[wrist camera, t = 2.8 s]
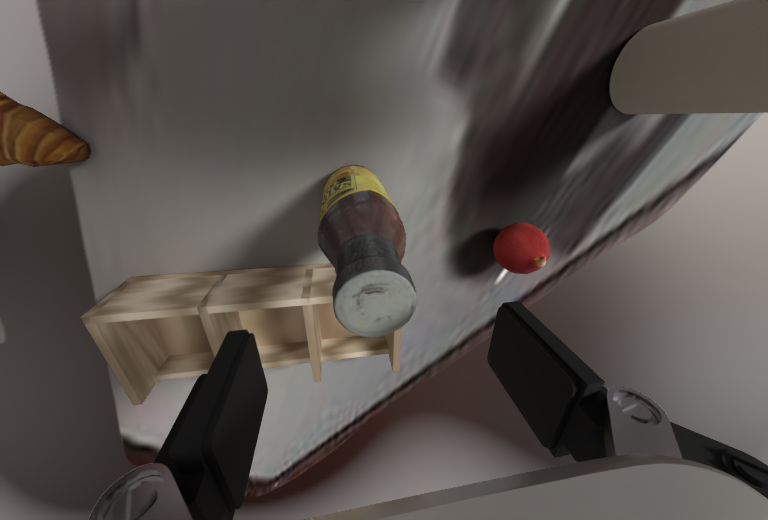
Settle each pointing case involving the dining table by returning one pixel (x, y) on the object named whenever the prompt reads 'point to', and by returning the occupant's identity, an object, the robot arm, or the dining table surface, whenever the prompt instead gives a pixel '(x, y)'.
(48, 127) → the croissant
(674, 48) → the travel mug
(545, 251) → the onion
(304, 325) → the wooden compartment shelf
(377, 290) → the sauce bottle
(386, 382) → the dining table surface
